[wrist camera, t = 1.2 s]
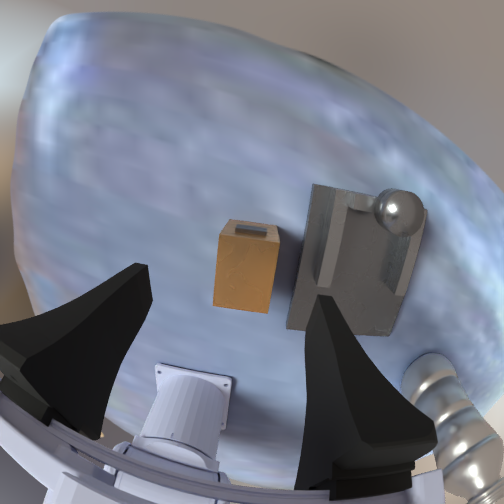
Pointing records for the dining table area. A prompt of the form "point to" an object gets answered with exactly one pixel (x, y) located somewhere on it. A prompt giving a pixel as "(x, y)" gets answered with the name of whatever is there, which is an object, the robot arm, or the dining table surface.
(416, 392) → the plastic bottle
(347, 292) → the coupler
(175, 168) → the dining table surface
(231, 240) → the block
